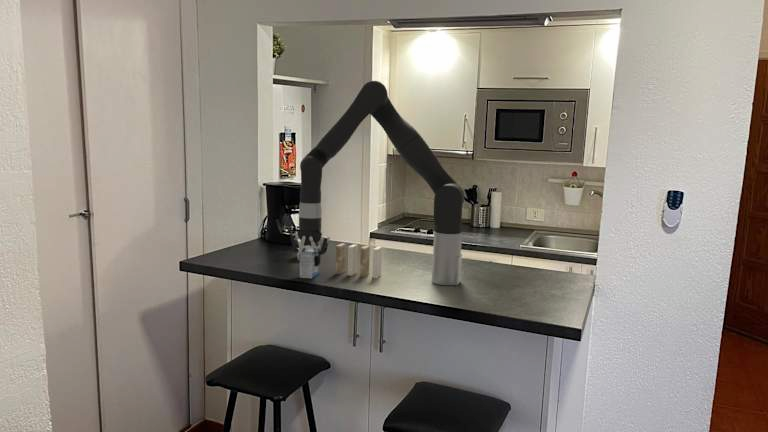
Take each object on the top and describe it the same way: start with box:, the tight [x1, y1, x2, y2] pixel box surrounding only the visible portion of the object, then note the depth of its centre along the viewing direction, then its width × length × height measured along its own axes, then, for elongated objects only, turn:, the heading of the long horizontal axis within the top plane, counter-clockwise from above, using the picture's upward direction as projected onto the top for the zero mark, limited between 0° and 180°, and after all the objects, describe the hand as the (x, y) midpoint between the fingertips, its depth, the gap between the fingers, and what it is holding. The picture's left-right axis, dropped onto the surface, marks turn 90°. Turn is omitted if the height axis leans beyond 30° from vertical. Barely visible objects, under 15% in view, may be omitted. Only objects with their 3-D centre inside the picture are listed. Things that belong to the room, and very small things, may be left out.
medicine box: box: [299, 249, 320, 280], centre depth 200 cm, size 8×4×9 cm, turn 168°
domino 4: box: [371, 246, 383, 279], centre depth 202 cm, size 2×5×10 cm, turn 163°
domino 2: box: [347, 244, 359, 277], centre depth 204 cm, size 2×5×10 cm, turn 163°
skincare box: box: [296, 238, 313, 261], centre depth 227 cm, size 6×6×7 cm
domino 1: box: [335, 242, 347, 275], centre depth 206 cm, size 2×5×10 cm, turn 163°
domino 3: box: [359, 245, 371, 278], centre depth 203 cm, size 2×5×10 cm, turn 163°
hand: (309, 265), depth 200 cm, fingers closed on medicine box, 4 cm apart
